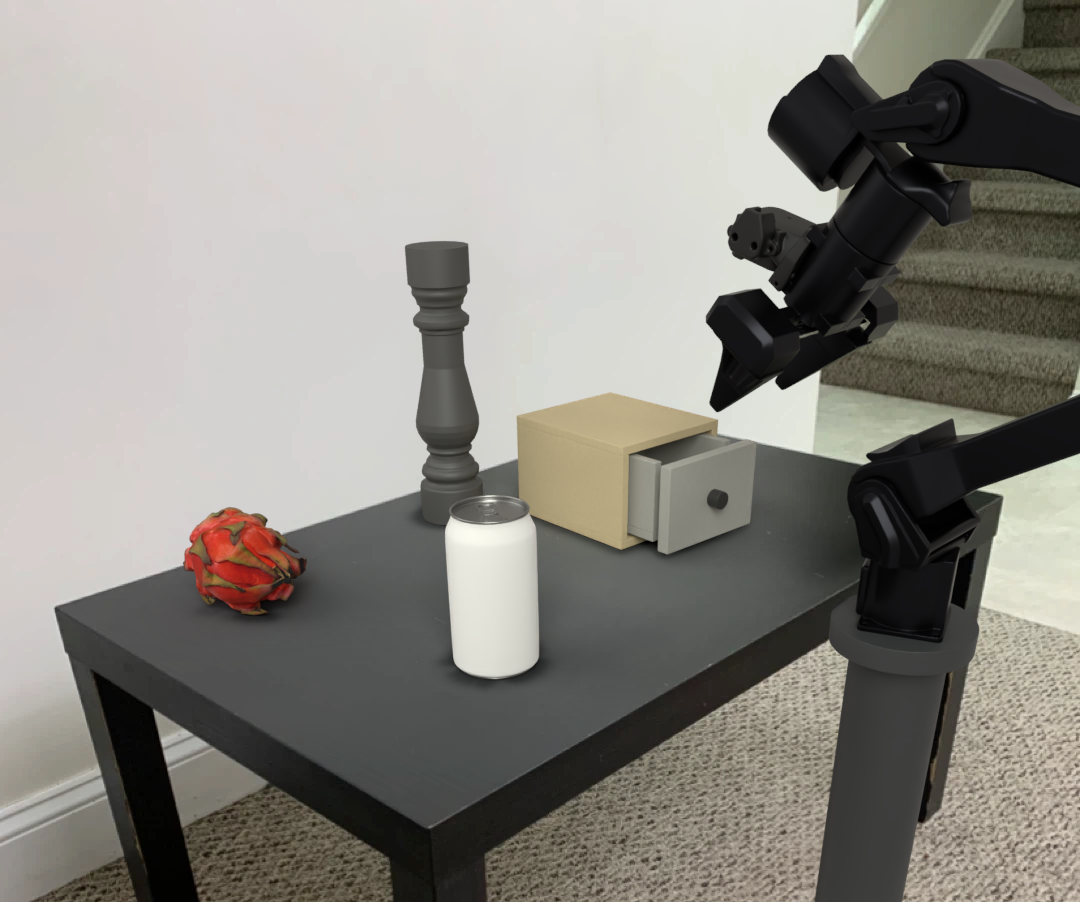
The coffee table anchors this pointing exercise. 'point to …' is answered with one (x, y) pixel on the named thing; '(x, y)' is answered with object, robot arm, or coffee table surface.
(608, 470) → the small drawer cabinet
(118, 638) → the coffee table surface
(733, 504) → the grey drawer with knob
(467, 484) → the candle holder
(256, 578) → the dragon fruit
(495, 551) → the can
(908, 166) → the robot arm
